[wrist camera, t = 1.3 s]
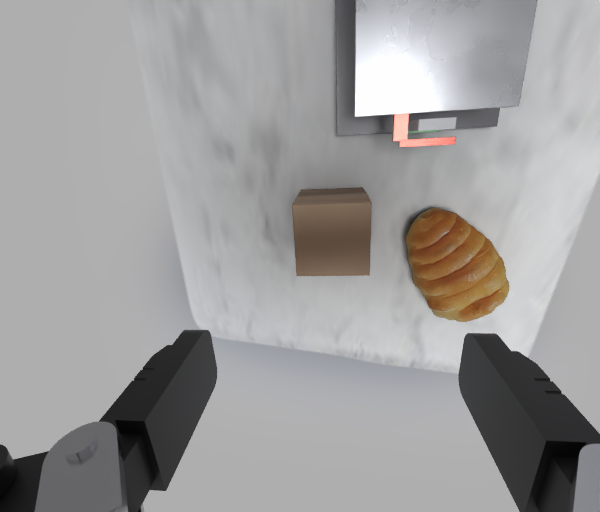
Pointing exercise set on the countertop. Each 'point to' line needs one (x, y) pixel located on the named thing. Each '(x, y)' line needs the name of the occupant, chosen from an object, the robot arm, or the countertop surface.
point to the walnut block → (332, 232)
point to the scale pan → (439, 58)
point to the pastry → (455, 266)
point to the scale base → (385, 122)
